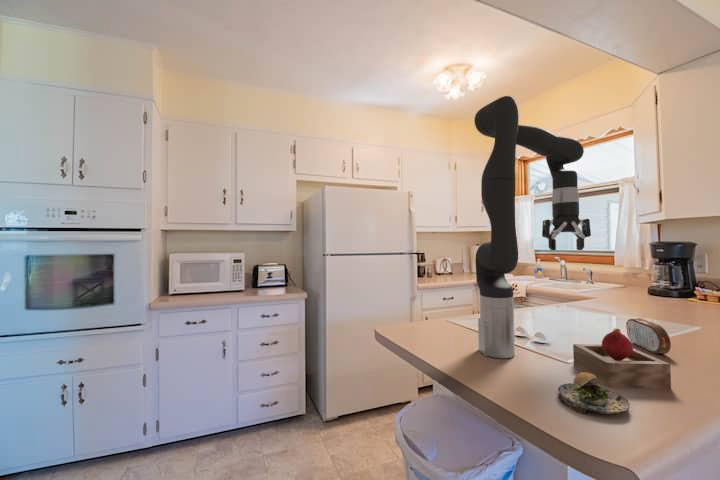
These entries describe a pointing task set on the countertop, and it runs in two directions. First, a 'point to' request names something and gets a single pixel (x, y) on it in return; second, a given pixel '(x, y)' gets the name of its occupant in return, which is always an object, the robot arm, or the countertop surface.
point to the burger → (590, 396)
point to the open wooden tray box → (623, 368)
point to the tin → (648, 336)
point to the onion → (617, 345)
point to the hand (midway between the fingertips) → (566, 250)
